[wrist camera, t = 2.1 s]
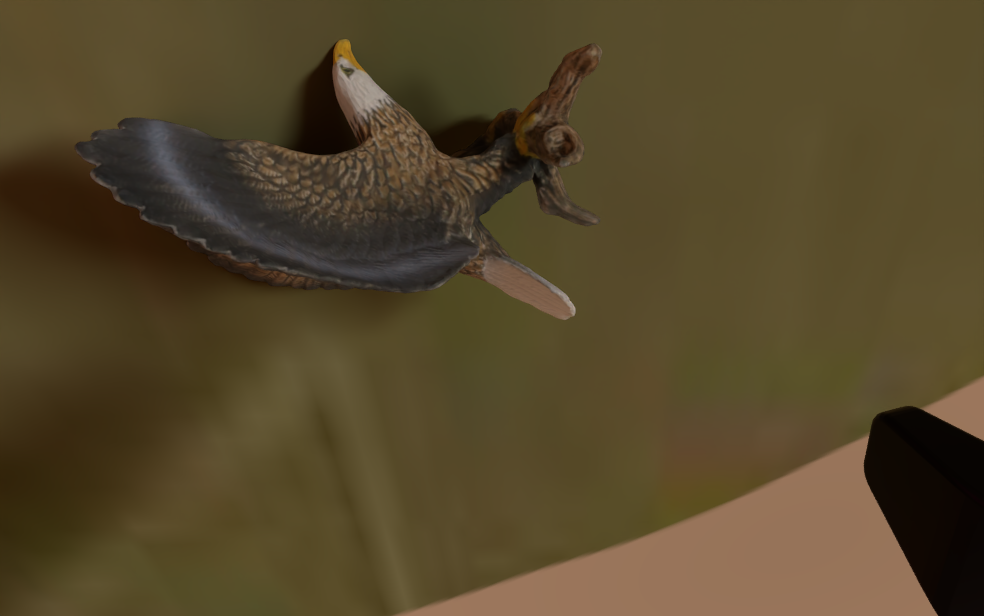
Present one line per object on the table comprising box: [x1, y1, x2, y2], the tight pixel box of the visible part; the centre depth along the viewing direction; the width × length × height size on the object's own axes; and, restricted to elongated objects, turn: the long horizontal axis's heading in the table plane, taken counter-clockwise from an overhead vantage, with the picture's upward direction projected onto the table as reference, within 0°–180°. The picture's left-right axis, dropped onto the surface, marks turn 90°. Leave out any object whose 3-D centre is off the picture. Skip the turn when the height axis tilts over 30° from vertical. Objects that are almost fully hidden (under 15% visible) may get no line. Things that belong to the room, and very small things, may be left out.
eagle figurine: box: [75, 39, 602, 320], centre depth 19 cm, size 8×7×9 cm
